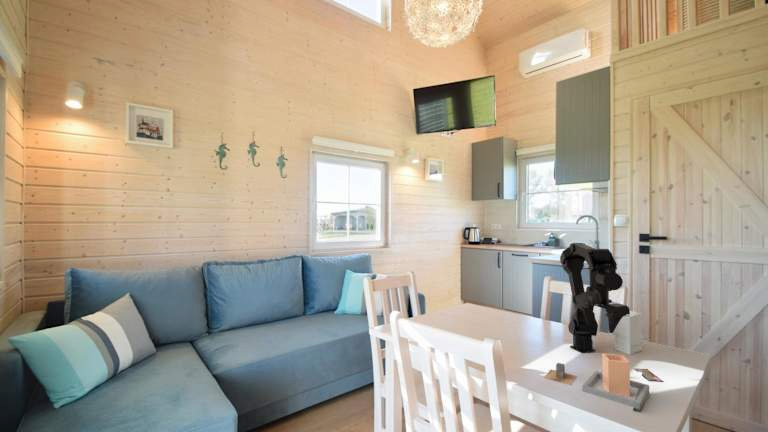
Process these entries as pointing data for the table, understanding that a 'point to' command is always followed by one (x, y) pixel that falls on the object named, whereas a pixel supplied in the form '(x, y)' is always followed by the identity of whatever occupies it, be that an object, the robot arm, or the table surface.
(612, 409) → the table surface
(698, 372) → the table surface
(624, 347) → the skincare box
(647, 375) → the chocolate bar
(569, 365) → the table surface
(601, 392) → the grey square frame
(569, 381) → the stake block
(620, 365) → the sleeve
